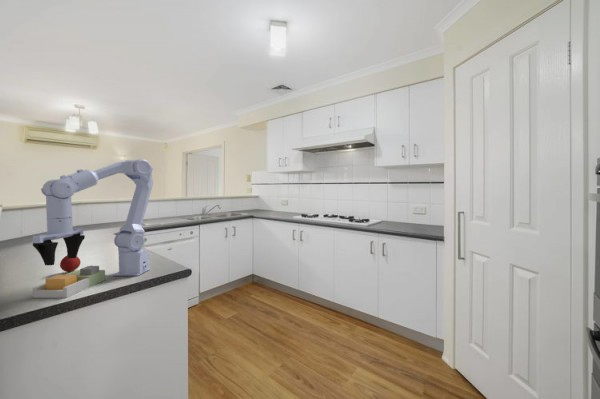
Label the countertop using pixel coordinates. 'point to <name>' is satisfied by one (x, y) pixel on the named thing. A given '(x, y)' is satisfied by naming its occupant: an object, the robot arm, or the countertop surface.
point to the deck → (84, 280)
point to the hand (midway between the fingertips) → (61, 261)
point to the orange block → (60, 281)
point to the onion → (69, 264)
